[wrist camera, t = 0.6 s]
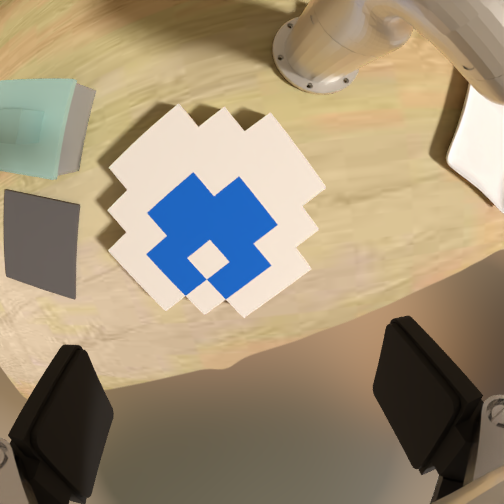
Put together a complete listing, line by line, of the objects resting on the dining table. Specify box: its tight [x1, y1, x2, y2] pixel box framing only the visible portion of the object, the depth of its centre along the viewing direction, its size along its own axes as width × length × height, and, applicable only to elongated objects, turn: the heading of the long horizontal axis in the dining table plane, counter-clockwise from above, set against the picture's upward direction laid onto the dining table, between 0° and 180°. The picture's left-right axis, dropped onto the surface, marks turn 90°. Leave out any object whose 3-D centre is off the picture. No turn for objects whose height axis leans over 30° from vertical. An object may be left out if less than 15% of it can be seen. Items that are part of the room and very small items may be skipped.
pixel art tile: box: [107, 104, 326, 318], centre depth 40 cm, size 28×4×28 cm
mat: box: [4, 189, 80, 299], centre depth 40 cm, size 16×16×1 cm
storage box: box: [57, 83, 96, 176], centre depth 31 cm, size 12×14×7 cm
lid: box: [0, 79, 77, 180], centre depth 25 cm, size 13×15×6 cm
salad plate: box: [446, 83, 504, 213], centre depth 39 cm, size 21×21×3 cm
